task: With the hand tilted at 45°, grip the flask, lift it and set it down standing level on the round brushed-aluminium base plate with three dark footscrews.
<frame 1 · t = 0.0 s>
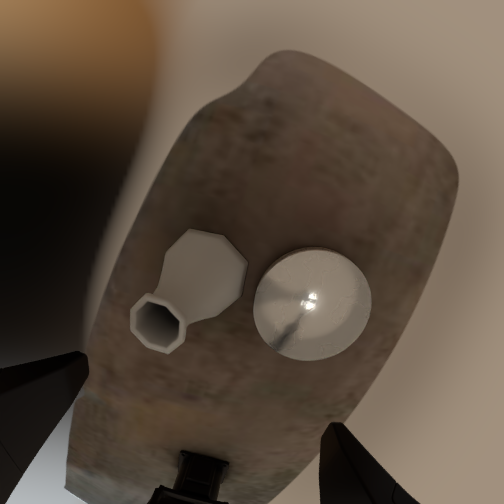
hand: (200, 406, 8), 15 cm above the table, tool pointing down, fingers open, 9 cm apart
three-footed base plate: (310, 298, 22), on the table
flask: (204, 272, 23), on the table
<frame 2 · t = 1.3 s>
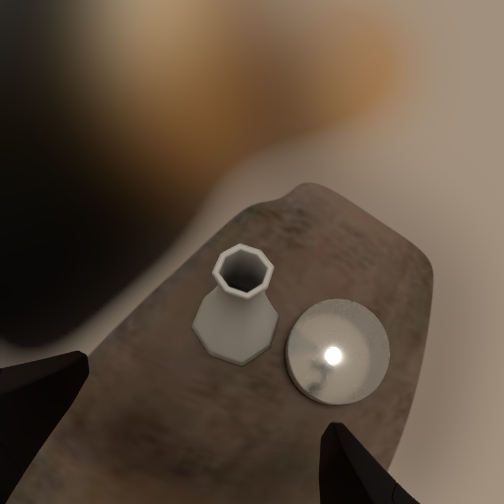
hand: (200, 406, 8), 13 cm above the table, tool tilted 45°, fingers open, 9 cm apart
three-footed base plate: (332, 355, 22), on the table
flask: (235, 324, 24), on the table
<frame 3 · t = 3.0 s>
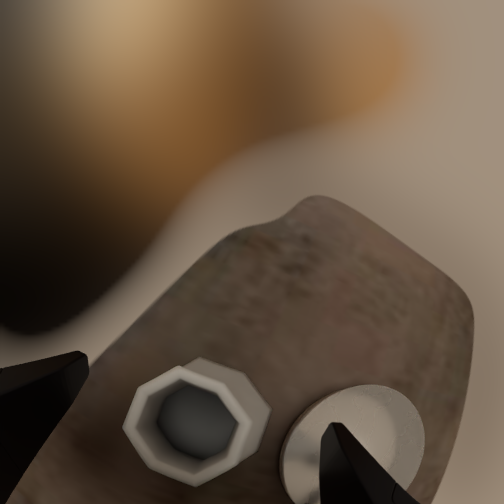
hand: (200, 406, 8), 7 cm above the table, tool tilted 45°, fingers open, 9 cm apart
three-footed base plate: (345, 453, 13), on the table
flask: (207, 417, 14), on the table
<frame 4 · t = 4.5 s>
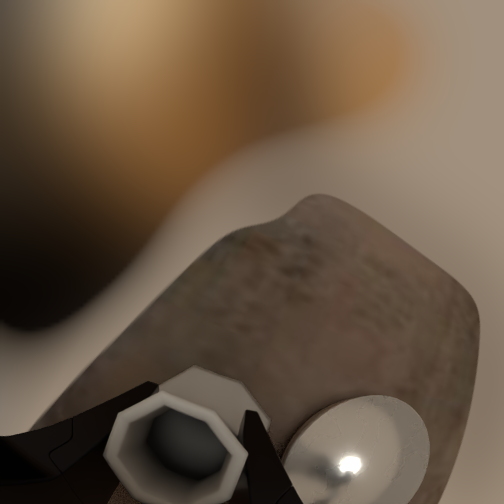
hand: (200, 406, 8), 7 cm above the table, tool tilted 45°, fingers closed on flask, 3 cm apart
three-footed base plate: (347, 464, 12), on the table
flask: (203, 428, 13), on the table, touching gripper
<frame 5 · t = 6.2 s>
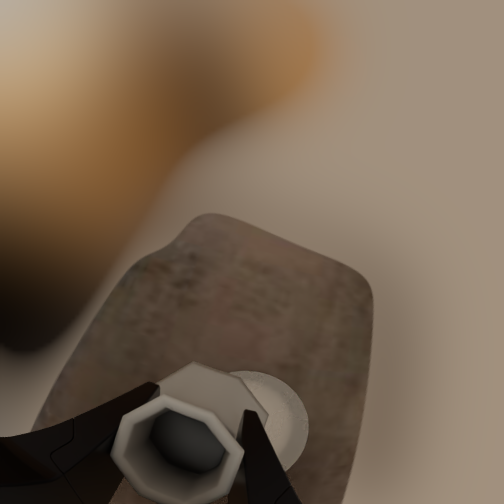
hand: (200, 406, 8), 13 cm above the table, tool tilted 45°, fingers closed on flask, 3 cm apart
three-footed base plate: (244, 426, 19), on the table
flask: (203, 422, 14), point 6 cm above the table, touching gripper
when the fingers open (10 cm above the table, at t = 7.7 s): flask stays where it is, resting on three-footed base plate.
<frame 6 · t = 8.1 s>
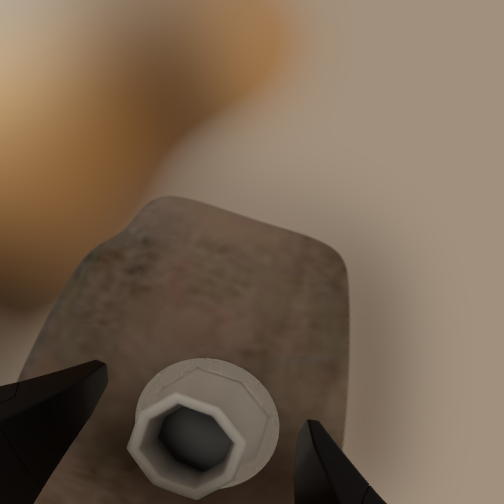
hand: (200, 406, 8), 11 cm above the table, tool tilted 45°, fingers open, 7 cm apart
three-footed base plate: (208, 423, 16), on the table
flask: (207, 425, 14), point 2 cm above the table, touching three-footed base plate
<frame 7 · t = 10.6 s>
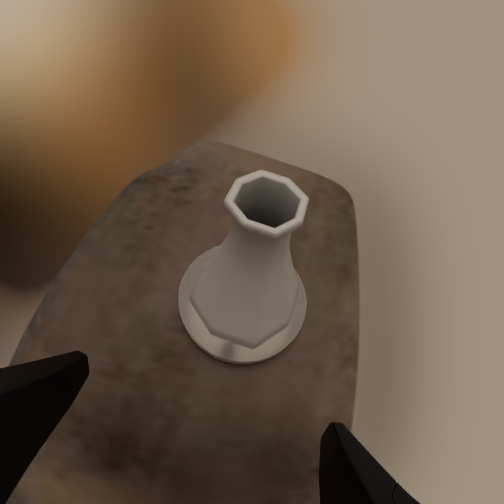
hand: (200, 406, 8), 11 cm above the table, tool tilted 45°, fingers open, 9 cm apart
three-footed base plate: (240, 309, 21), on the table
flask: (244, 297, 19), point 2 cm above the table, touching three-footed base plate
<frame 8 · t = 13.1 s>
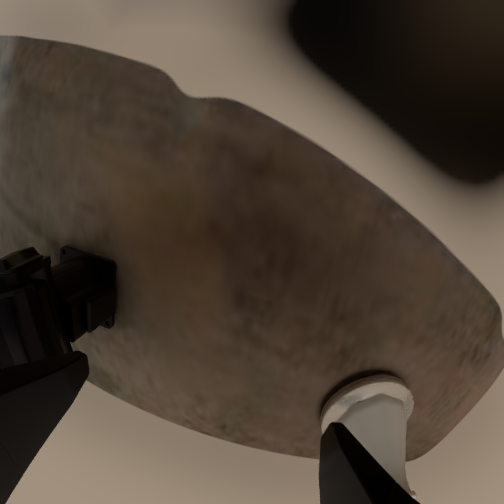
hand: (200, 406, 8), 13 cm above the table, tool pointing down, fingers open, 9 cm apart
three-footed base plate: (363, 404, 22), on the table
flask: (369, 420, 20), point 2 cm above the table, touching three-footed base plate
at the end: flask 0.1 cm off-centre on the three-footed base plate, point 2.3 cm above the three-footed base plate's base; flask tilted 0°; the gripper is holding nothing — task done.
